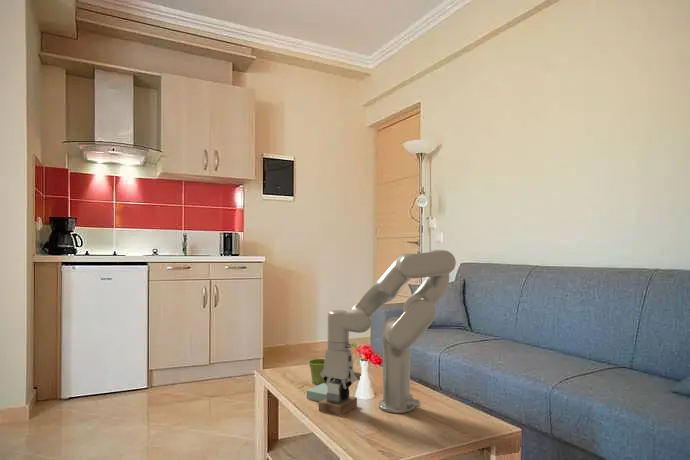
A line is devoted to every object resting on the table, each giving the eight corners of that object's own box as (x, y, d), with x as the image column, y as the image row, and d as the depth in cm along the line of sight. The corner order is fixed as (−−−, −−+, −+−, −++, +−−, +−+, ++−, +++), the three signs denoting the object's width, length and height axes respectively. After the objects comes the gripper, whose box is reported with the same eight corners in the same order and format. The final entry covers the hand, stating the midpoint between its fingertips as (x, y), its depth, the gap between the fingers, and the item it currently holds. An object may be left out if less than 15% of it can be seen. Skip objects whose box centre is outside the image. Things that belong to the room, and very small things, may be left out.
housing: (349, 398, 164) (349, 377, 164) (338, 404, 158) (338, 382, 158) (337, 395, 167) (337, 375, 167) (326, 401, 161) (326, 380, 161)
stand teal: (342, 394, 177) (342, 386, 177) (326, 403, 168) (326, 394, 168) (323, 390, 182) (323, 383, 182) (306, 398, 173) (306, 390, 173)
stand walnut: (356, 406, 165) (356, 397, 165) (340, 415, 155) (340, 406, 155) (335, 401, 169) (335, 393, 169) (318, 410, 160) (318, 402, 160)
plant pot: (330, 385, 188) (330, 364, 189) (307, 385, 189) (307, 364, 189) (331, 379, 198) (331, 358, 198) (309, 379, 198) (309, 358, 198)
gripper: (364, 346, 162) (364, 398, 161) (324, 341, 171) (323, 390, 170) (353, 350, 155) (353, 405, 155) (312, 344, 164) (312, 396, 164)
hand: (338, 397), depth 162 cm, fingers closed on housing, 5 cm apart
